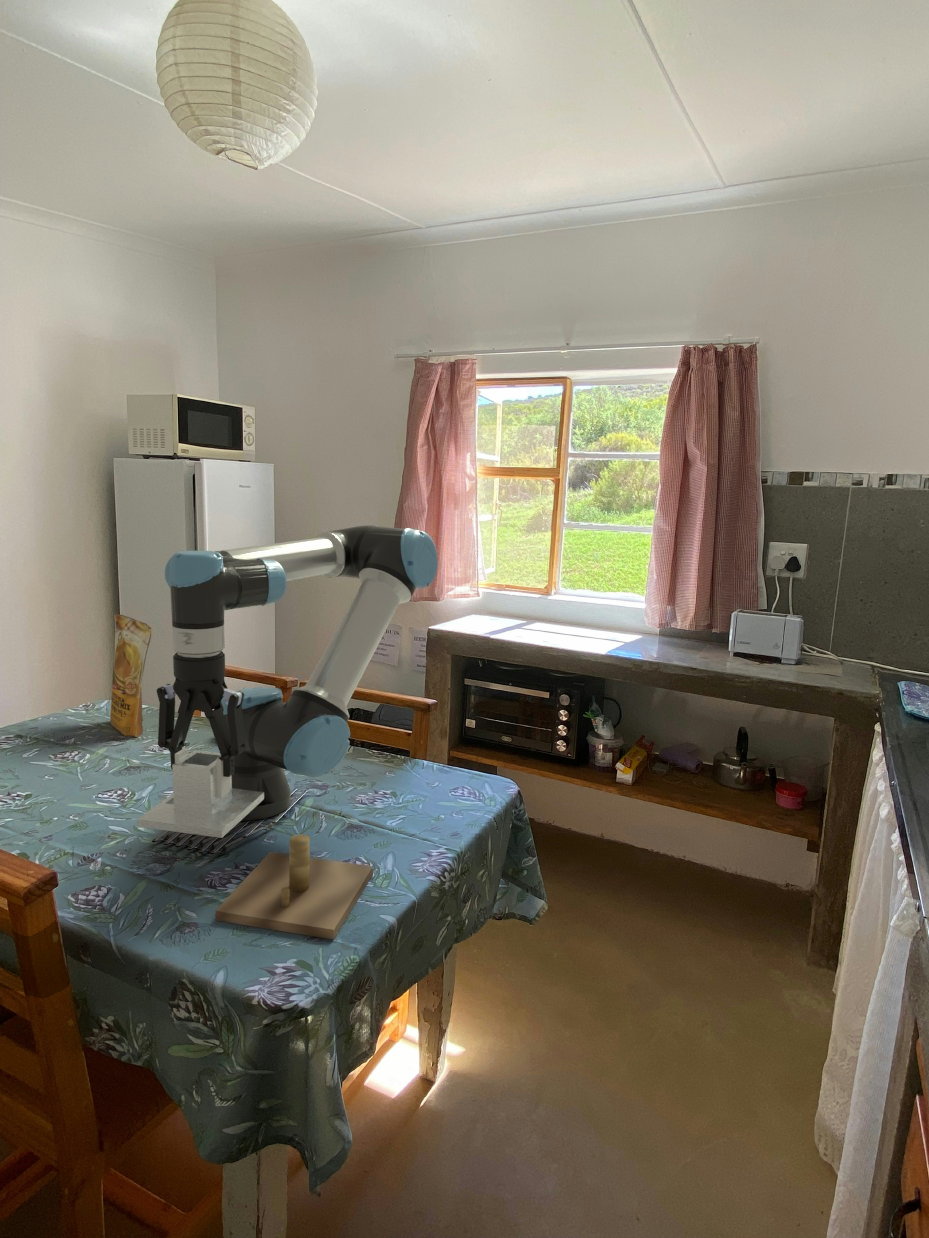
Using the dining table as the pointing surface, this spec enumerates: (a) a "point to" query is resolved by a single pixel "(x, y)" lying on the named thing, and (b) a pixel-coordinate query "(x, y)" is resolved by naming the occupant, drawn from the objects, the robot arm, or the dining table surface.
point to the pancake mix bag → (128, 674)
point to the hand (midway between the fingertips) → (203, 791)
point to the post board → (297, 893)
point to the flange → (200, 800)
